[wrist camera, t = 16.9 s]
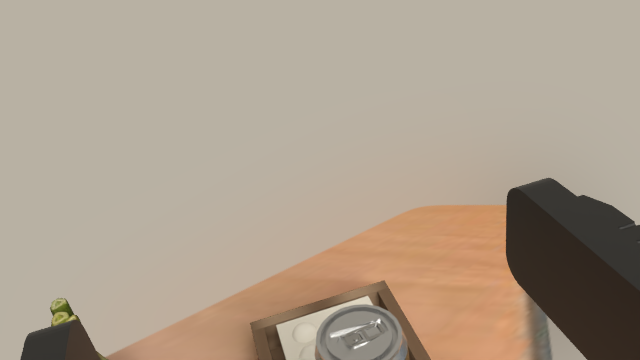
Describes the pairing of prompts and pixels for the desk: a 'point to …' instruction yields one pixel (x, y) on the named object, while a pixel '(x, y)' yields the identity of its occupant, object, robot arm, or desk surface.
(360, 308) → the beer can
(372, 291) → the crate
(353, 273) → the desk surface
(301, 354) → the egg carton
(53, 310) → the fennel bulb
